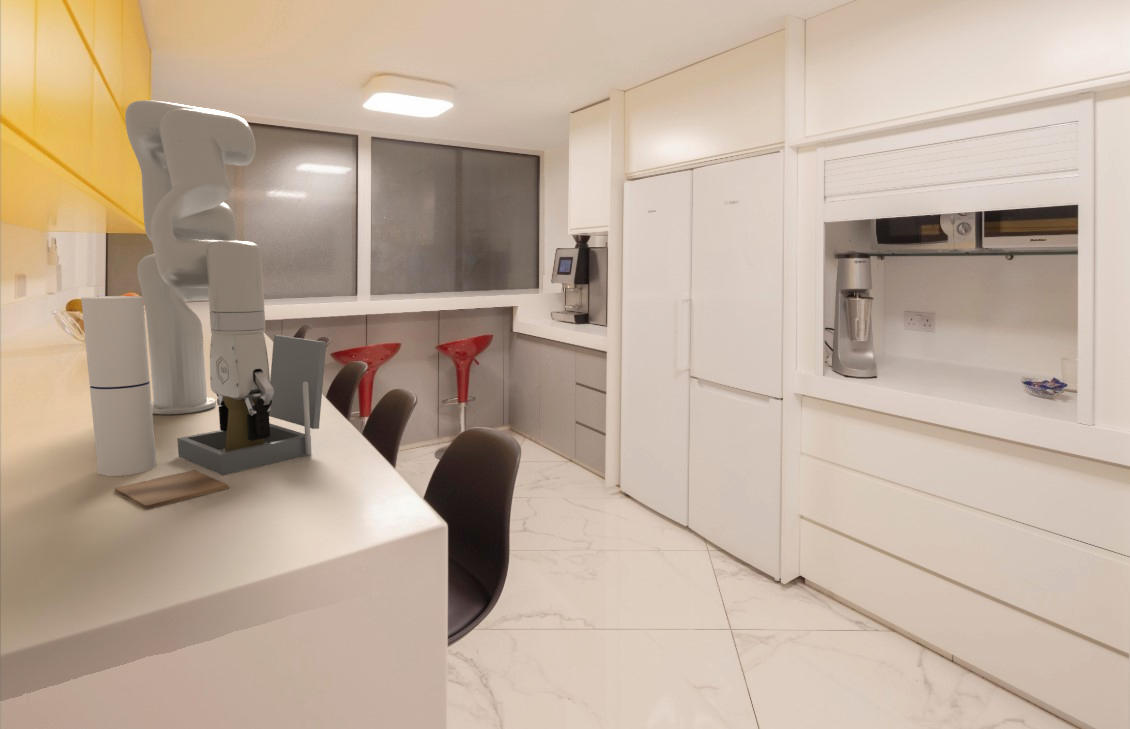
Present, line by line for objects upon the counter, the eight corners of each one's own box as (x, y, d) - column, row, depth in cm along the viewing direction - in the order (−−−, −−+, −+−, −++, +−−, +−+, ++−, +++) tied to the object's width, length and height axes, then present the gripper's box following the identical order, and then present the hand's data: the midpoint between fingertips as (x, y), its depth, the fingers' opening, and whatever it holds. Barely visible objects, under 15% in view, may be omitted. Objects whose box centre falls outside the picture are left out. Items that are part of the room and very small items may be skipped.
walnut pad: (114, 491, 85) (114, 487, 85) (194, 473, 93) (194, 469, 93) (146, 509, 79) (146, 505, 79) (228, 488, 87) (228, 484, 87)
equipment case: (178, 456, 101) (173, 381, 99) (265, 438, 112) (261, 370, 110) (226, 477, 92) (221, 394, 90) (315, 455, 103) (312, 381, 101)
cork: (215, 458, 100) (210, 388, 99) (247, 448, 106) (243, 382, 104) (244, 463, 98) (240, 392, 97) (275, 452, 104) (272, 385, 102)
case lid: (274, 335, 111) (279, 335, 112) (267, 415, 112) (272, 415, 112) (320, 341, 103) (326, 342, 103) (313, 428, 103) (318, 428, 104)
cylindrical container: (92, 478, 90) (74, 298, 86) (104, 463, 97) (88, 296, 93) (151, 472, 93) (137, 298, 89) (160, 458, 99) (147, 296, 96)
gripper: (186, 320, 101) (194, 429, 104) (242, 328, 91) (249, 449, 93) (234, 318, 107) (240, 421, 110) (292, 325, 97) (297, 438, 99)
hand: (244, 433), depth 101 cm, fingers open, 8 cm apart
